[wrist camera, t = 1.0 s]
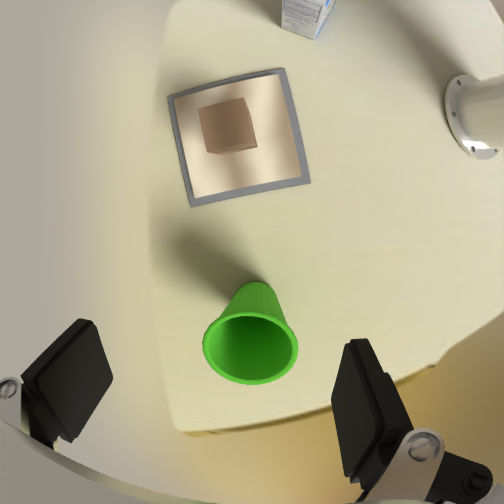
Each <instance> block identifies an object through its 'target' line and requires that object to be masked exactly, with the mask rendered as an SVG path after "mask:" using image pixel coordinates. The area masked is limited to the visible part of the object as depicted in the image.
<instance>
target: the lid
mask: <svg viewBox="0 0 504 504" xmlns="http://www.w3.org/2000/svg"><path fill="white" fill-rule="evenodd" d="M174 104H175V110H176V115H177V120H178V125H179V130H180V134H181V139H182V144H183V149H184V153H185V158H186V162H187V167H188V171H189V175H190V180H191V184H192V188H193V193H194V197H195V198H199V197H203V196H207V195H212V194H216V193H220V192H225V191H229V190H234V189H239V188H243V187H248V186H253V185H258V184H263V183H268V182H273V181H279V180H284V179H290V178H295V177H301V176H302V175H301V170H300V165H299V160H298V155H297V150H296V146H295V141H294V137H293V132H292V128H291V123H290V119H289V115H288V110H287V106H286V102H285V98H284V94H283V90H282V86H281V83H280V79H279V75H278V74H276V75H270V76H264V77H258V78H253V79H248V80H244V81H239V82H235V83H230V84H226V85H222V86H218V87H214V88H211V89H207V90H203V91H200V92H196V93H193V94H190V95H187V96H183V97H180V98H177V99H174Z"/></svg>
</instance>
